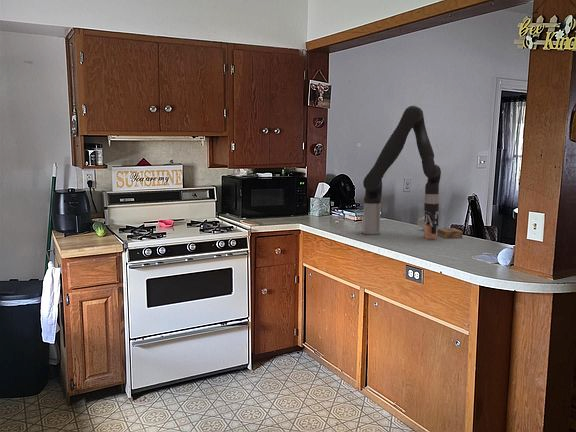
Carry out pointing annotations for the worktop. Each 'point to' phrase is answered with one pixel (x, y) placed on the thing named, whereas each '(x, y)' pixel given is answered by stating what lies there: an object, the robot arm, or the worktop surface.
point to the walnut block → (449, 233)
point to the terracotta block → (428, 232)
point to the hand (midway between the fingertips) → (430, 232)
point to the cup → (422, 221)
